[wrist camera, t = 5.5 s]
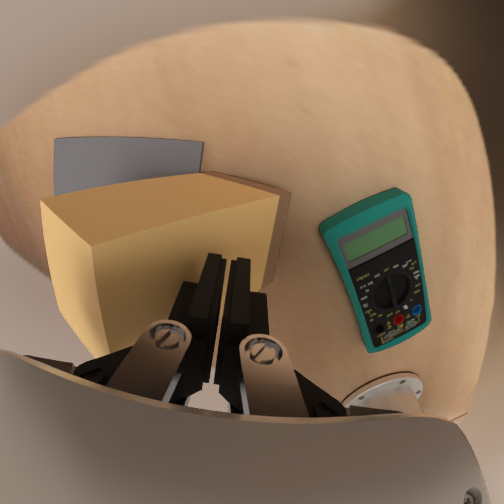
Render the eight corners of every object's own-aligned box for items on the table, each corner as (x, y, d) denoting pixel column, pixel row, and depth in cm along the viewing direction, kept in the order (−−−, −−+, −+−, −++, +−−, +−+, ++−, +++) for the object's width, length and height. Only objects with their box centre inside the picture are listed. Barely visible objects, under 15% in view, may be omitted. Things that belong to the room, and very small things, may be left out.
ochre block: (272, 280, 18) (119, 385, 9) (205, 249, 21) (59, 310, 12) (291, 192, 16) (91, 246, 6) (214, 171, 18) (40, 199, 9)
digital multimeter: (363, 342, 26) (371, 362, 23) (314, 220, 20) (322, 234, 18) (422, 312, 24) (434, 329, 22) (394, 182, 19) (413, 190, 16)
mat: (190, 275, 22) (189, 277, 22) (62, 251, 21) (60, 253, 21) (203, 142, 18) (202, 142, 17) (57, 138, 17) (54, 138, 16)
